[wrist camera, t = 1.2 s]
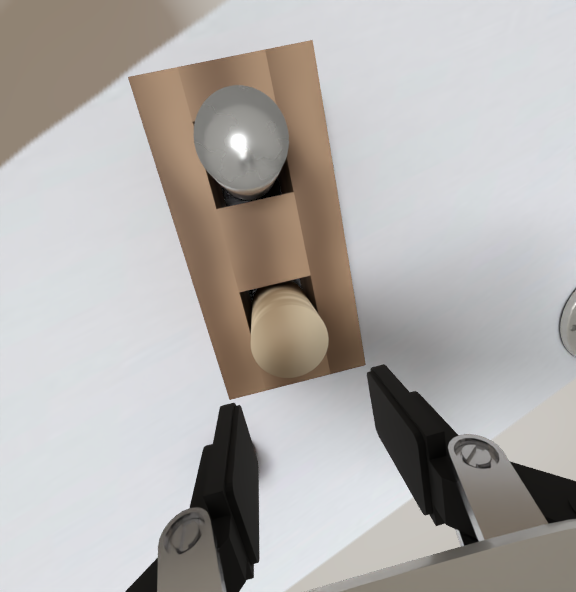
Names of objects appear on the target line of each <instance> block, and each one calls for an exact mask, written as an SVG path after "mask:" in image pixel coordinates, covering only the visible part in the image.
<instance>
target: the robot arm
mask: <svg viewBox="0 0 576 592" xmlns="http://www.w3.org/2000/svg"><path fill="white" fill-rule="evenodd" d="M560 332H561V338H562V341H563V344H564V346H565V347H566V349H567V350H568V351H569V352H570V353H571V354H572V355H573V356H575V357H576V290H575V291H574V293H573V294H572V295H571V297H570V299H569V300H568V302H567V304H566V306H565V308H564V311H563V314H562V318H561V325H560ZM367 379H368V385H369V391H370V397H371V403H372V409H373V415H374V421H375V427H376V430H377V433H378V435H379V437H380V439H381V441H382V443H383V444H384V446H385V448H386V450H387V451H388V453H389V455H390V457H391V458H392V460H393V462H394V464H395V465H396V467H397V469H398V471H399V473H400V474H401V476H402V478H403V480H404V481H405V483H406V485H407V487H408V488H409V490H410V492H411V494H412V495H413V497H414V499H415V501H416V502H417V504H418V506H419V507H420V509H421V511H422V513H423V514H424V515H428V514H429V515H430V516H431V518H432V520H433V522H434V523H435V525H436V526H438V525H441V524H444V523H445V524H446V525H448V526H450V527H452V528H454V529H455V530H456V534H457V537H458V540H459V542H460V546H461V547H458V548H455V549H451V550H448V551H444V552H441V553H437V554H433V555H431V556H426V557H423V558H419V559H416V560H412V561H409V562H405V563H402V564H399V565H395V566H392V567H388V568H385V569H381V570H377V571H374V572H370V573H367V574H364V575H360V576H357V577H353V578H350V579H346V580H343V581H340V582H336V583H332V584H329V585H326V586H322V587H319V588H315V589H312V590H309V591H306V592H576V481H573V480H570V479H566V478H563V477H560V476H556V475H553V474H550V473H546V472H543V471H540V470H536V469H533V468H529V467H526V466H523V465H520V464H516V463H513V462H510V461H509V460H508V458H507V456H506V455H505V453H504V452H503V450H502V449H501V448H500V447H499V446H498V445H497V444H495V443H494V442H493V441H491V440H489V439H487V438H485V437H482V436H478V435H472V434H464V435H458V434H457V433H456V432H455V431H454V430H453V429H452V428H451V427H450V426H449V425H448V424H447V423H446V422H445V421H444V419H443V418H442V417H441V416H440V415H439V414H438V413H437V412H436V411H435V410H434V409H433V408H432V407H431V406H430V405H429V404H428V402H427V401H426V400H425V399H424V398H423V397H422V396H421V395H420V394H419V393H418V392H416V391H414V392H409V391H408V390H407V389H406V388H405V387H404V385H403V384H402V383H401V382H400V381H399V380H398V379H397V378H396V376H395V375H394V374H393V373H392V372H391V371H390V370H389V369H388V367H387V366H386V365H384V364H383V365H380V366H376V367H372V368H371V372H367ZM258 562H259V480H258V461H257V457H256V454H255V451H254V447H253V444H252V441H251V437H250V434H249V431H248V428H247V424H246V421H245V418H244V415H243V411H242V408H241V406H240V405H238V406H236V404H235V403H231V404H227V405H223V406H220V410H219V415H218V420H217V426H216V431H215V436H214V441H213V444H211V445H207V446H205V447H204V449H203V452H202V456H201V461H200V465H199V469H198V474H197V478H196V483H195V487H194V491H193V496H192V500H191V504H190V508H189V509H187V510H184V511H182V512H181V513H179V514H178V515H176V516H175V517H174V518H173V519H172V520H171V521H170V522H169V523H168V524H167V526H166V527H165V529H164V530H163V532H162V534H161V536H160V539H159V544H158V558H157V559H156V560H155V561H154V562H153V563H152V564H151V565H150V566H149V567H148V568H147V569H146V570H145V572H144V573H143V574H142V575H141V576H140V577H139V578H138V579H137V580H136V581H135V582H134V583H133V584H132V585H131V586H130V587H129V588H128V589H127V590H126V591H125V592H239V591H240V589H241V588H242V586H243V585H244V584H245V582H246V580H248V579H252V578H254V564H255V563H258Z"/></svg>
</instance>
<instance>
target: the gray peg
mask: <svg viewBox="0 0 576 592" xmlns="http://www.w3.org/2000/svg"><path fill="white" fill-rule="evenodd" d="M193 136H194V144H195V149H196V152H197V155H198V157H199V159H200V162H201V163H202V165H203V166H204V168H205V169H206V170H207V172H208V173H209V174H210V175H211V176H212V177H213V178H214V179H215V180H216V181H217V182H218V183H219V184H220V185H221V186H222V187H223V188H224V189H225V190H226V191H227V192H228V193H230V194H231V195H233V196H234V197H237V198H239V199H243V200H253V199H257V198H260V197H262V196H263V195H265V194H266V193H267V192H268V191H269V190H270V189H271V188H272V186H273V184H274V182H275V180H276V178H277V176H278V174H279V172H280V170H281V168H282V166H283V164H284V162H285V160H286V157H287V153H288V148H289V134H288V128H287V124H286V121H285V118H284V116H283V114H282V112H281V110H280V109H279V107H278V106H277V105H276V104H275V102H274V101H273V100H272V99H271V98H270V97H268V96H267V95H266V94H264V93H263V92H261V91H259V90H257V89H255V88H252V87H249V86H243V85H233V86H228V87H224V88H222V89H220V90H217V91H216V92H214V93H213V94H211V95H210V96H209V97H208V98H207V99H206V100H205V102H204V103H203V104H202V106H201V107H200V109H199V111H198V113H197V116H196V119H195V123H194V134H193Z"/></svg>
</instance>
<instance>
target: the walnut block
mask: <svg viewBox="0 0 576 592" xmlns="http://www.w3.org/2000/svg"><path fill="white" fill-rule="evenodd" d="M128 79H129V82H130V85H131V88H132V91H133V95H134V98H135V101H136V104H137V107H138V110H139V114H140V117H141V120H142V123H143V126H144V129H145V133H146V136H147V139H148V142H149V145H150V149H151V152H152V155H153V158H154V161H155V164H156V168H157V171H158V174H159V177H160V180H161V183H162V187H163V190H164V193H165V196H166V199H167V202H168V206H169V209H170V212H171V215H172V218H173V222H174V225H175V228H176V231H177V234H178V237H179V241H180V244H181V247H182V250H183V253H184V256H185V260H186V263H187V266H188V269H189V272H190V275H191V279H192V282H193V285H194V288H195V291H196V294H197V298H198V301H199V304H200V307H201V310H202V314H203V317H204V320H205V323H206V326H207V329H208V333H209V336H210V339H211V342H212V345H213V348H214V352H215V355H216V358H217V361H218V364H219V367H220V371H221V374H222V377H223V380H224V383H225V387H226V390H227V393H228V396H229V399H230V400H231V399H235V398H239V397H243V396H246V395H250V394H254V393H258V392H262V391H266V390H270V389H274V388H278V387H282V386H286V385H290V384H293V383H297V382H301V381H305V380H309V379H313V378H317V377H321V376H325V375H329V374H333V373H337V372H341V371H344V370H348V369H352V368H356V367H360V366H364V365H366V364H365V358H364V352H363V346H362V340H361V334H360V327H359V321H358V315H357V309H356V303H355V297H354V291H353V285H352V279H351V272H350V266H349V260H348V254H347V248H346V242H345V236H344V230H343V224H342V217H341V211H340V205H339V199H338V193H337V187H336V181H335V175H334V169H333V162H332V156H331V150H330V144H329V138H328V132H327V126H326V120H325V114H324V107H323V101H322V95H321V89H320V83H319V77H318V71H317V65H316V59H315V52H314V46H313V40H311V41H306V42H301V43H296V44H291V45H286V46H281V47H276V48H271V49H266V50H261V51H256V52H251V53H246V54H241V55H236V56H231V57H226V58H221V59H216V60H211V61H206V62H201V63H196V64H191V65H186V66H181V67H176V68H171V69H166V70H161V71H156V72H151V73H146V74H141V75H136V76H131V77H128ZM233 85H243V86H249V87H252V88H255V89H257V90H259V91H261V92H263V93H264V94H266V95H267V96H268V97H270V98H271V99H272V100H273V101H274V102H275V104H276V105H277V106H278V107H279V109H280V110H281V112H282V114H283V116H284V118H285V121H286V124H287V128H288V134H289V148H288V153H287V157H286V160H285V162H284V164H283V166H282V168H281V170H280V172H279V174H278V180H279V185H280V189H281V194H282V195H278V196H273V197H269V198H265V199H260V200H256V201H251V202H247V203H242V204H238V205H233V206H229V207H226V203H225V200H224V196H223V192H222V188H221V185H220V184H219V183H218V182H217V181H216V180H215V179H214V178H213V177H212V176H211V175H210V174H209V173H208V172H207V170H206V169H205V168H204V166H203V165H202V163H201V162H200V159H199V157H198V155H197V152H196V149H195V144H194V136H193V134H194V123H195V119H196V116H197V113H198V111H199V109H200V107H201V106H202V104H203V103H204V102H205V100H206V99H207V98H208V97H209V96H210V95H211V94H213V93H214V92H216V91H217V90H220V89H222V88H224V87H228V86H233ZM298 278H299V279H300V283H301V288H302V290H303V292H304V293H305V295H306V297H307V298H308V300H309V301H310V303H311V304H312V306H313V307H314V309H315V310H316V312H317V313H318V315H319V316H320V318H321V319H322V321H323V322H324V324H325V326H326V328H327V332H328V338H329V339H328V348H327V352H326V354H325V356H324V358H323V360H322V361H321V362H320V364H319V365H318V366H317V367H316V368H314V369H313V370H312V371H310V372H309V373H307V374H305V375H302V376H299V377H294V378H281V377H277V376H274V375H271V374H269V373H268V372H266V371H264V370H263V369H262V368H261V367H260V366H259V365H258V364H257V362H256V361H255V359H254V357H253V354H252V351H251V322H252V302H251V298H250V294H249V291H248V290H252V289H256V288H260V287H264V286H268V285H273V284H277V283H281V282H285V281H289V280H294V279H298Z"/></svg>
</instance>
